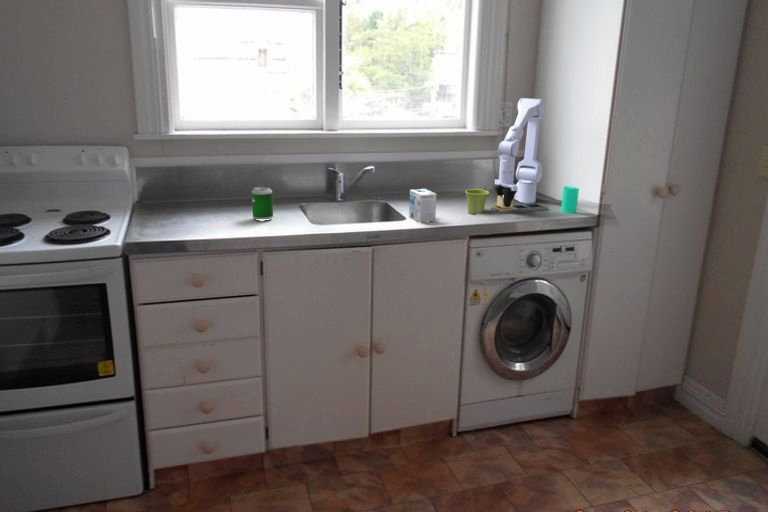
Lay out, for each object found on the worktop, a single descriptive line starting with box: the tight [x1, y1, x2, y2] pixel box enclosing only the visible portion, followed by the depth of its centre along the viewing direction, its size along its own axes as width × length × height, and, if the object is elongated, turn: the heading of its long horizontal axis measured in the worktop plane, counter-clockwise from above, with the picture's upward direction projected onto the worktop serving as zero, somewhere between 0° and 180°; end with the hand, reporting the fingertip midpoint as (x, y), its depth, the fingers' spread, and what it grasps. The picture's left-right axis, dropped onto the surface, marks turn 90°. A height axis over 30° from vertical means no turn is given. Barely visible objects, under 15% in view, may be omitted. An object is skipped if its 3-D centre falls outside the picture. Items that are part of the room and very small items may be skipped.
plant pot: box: [464, 188, 490, 215], centre depth 263 cm, size 9×9×9 cm
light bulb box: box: [408, 188, 437, 223], centre depth 251 cm, size 11×7×11 cm, turn 22°
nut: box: [496, 194, 514, 209], centre depth 264 cm, size 4×4×6 cm
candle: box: [560, 183, 580, 214], centre depth 264 cm, size 6×6×12 cm
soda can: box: [251, 186, 274, 220], centre depth 246 cm, size 8×8×12 cm
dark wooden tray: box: [490, 203, 549, 214], centre depth 267 cm, size 7×22×2 cm, turn 109°
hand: (504, 205), depth 264 cm, fingers closed on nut, 4 cm apart
